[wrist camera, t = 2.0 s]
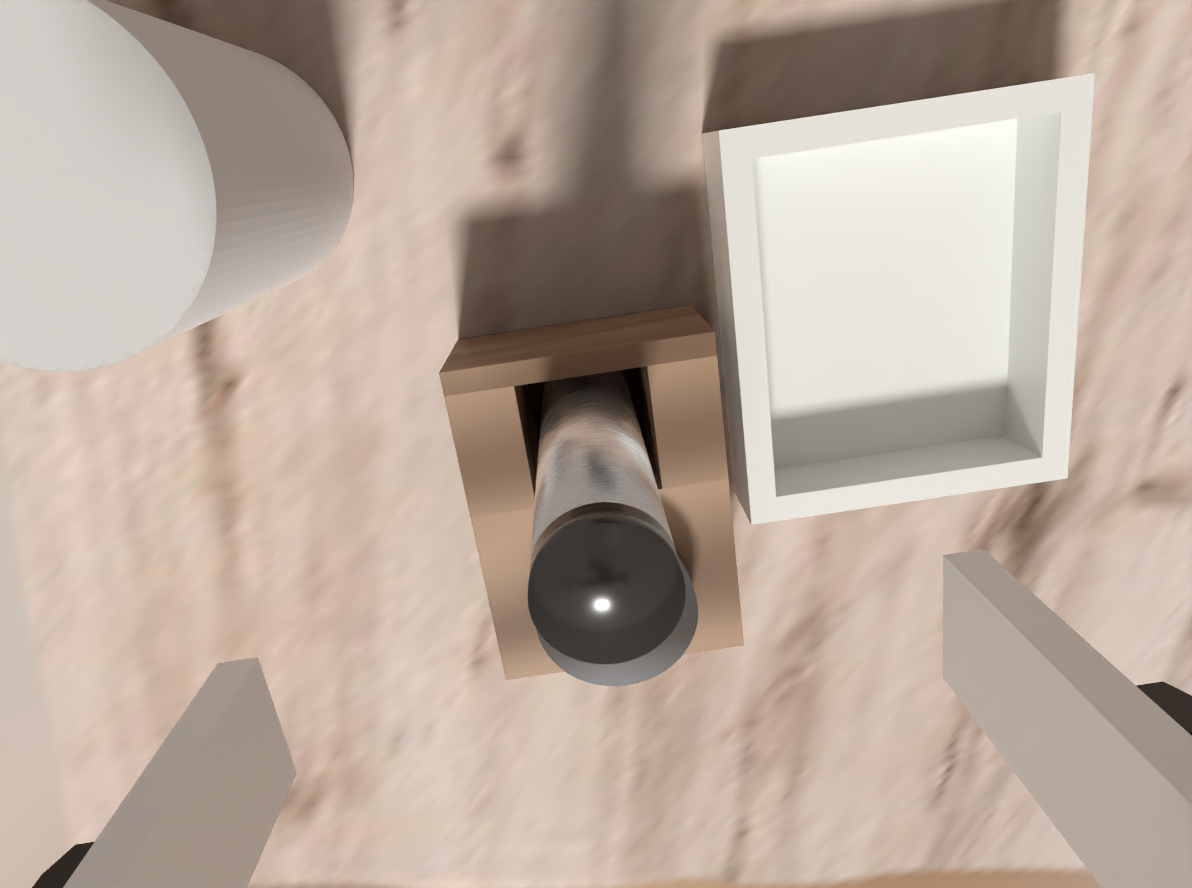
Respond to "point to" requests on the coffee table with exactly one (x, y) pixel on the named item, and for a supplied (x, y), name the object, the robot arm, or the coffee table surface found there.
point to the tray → (900, 296)
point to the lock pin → (599, 528)
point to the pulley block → (676, 453)
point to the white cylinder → (149, 181)
